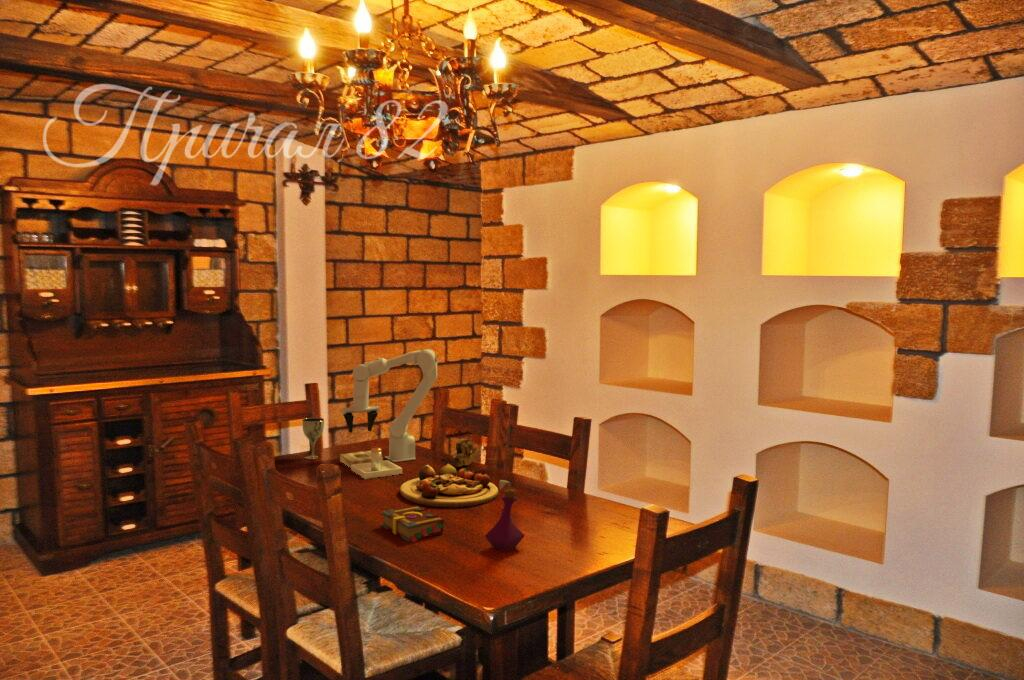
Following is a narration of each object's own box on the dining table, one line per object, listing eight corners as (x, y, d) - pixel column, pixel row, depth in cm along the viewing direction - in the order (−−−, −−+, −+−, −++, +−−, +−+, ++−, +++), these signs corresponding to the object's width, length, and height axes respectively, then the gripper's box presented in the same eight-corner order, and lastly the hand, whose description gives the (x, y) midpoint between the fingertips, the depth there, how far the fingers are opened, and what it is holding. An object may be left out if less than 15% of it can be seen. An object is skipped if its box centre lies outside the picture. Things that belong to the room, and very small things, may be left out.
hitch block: (370, 458, 280) (370, 450, 280) (383, 465, 270) (383, 457, 270) (340, 462, 274) (340, 454, 273) (352, 469, 264) (352, 461, 263)
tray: (387, 466, 269) (387, 460, 269) (402, 474, 259) (402, 468, 258) (350, 470, 262) (350, 464, 262) (364, 479, 251) (364, 473, 251)
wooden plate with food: (450, 516, 215) (451, 489, 215) (378, 493, 235) (379, 468, 235) (518, 495, 240) (519, 471, 240) (448, 476, 260) (449, 453, 260)
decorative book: (416, 519, 212) (416, 502, 211) (446, 536, 199) (446, 518, 199) (381, 527, 205) (381, 509, 204) (409, 544, 192) (410, 525, 192)
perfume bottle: (502, 540, 196) (504, 474, 194) (524, 547, 191) (526, 480, 189) (484, 548, 190) (485, 480, 188) (506, 555, 185) (508, 485, 184)
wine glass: (328, 458, 279) (328, 419, 278) (312, 462, 272) (312, 422, 271) (313, 454, 283) (313, 416, 282) (297, 458, 277) (297, 419, 275)
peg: (377, 468, 263) (377, 447, 262) (383, 470, 260) (383, 448, 260) (369, 470, 260) (369, 448, 260) (375, 472, 258) (375, 450, 257)
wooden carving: (463, 471, 265) (463, 444, 264) (451, 470, 266) (451, 443, 265) (478, 461, 280) (479, 435, 280) (467, 459, 282) (468, 434, 281)
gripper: (374, 393, 285) (373, 427, 287) (338, 395, 277) (338, 430, 279) (382, 396, 280) (381, 431, 281) (345, 398, 272) (344, 434, 273)
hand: (360, 431), depth 279 cm, fingers open, 7 cm apart
